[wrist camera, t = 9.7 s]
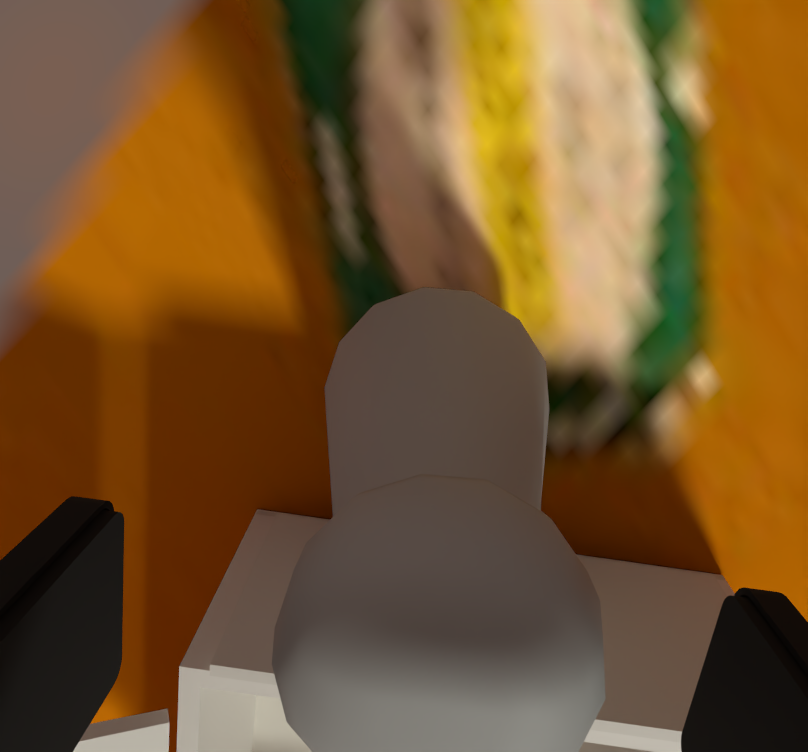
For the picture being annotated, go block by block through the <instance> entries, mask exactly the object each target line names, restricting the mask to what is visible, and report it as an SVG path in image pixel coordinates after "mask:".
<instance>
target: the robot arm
mask: <svg viewBox="0 0 808 752" xmlns="http://www.w3.org/2000/svg"><path fill="white" fill-rule="evenodd" d="M123 554H124V517H123V514H122V513H121V512H114V508H113V505H112V503H111V502H110V501H104V500H97V499H89V498H82V497H70V498H68V499H67V500H66V501H65V502H63V503H62V504H61V505H60V506H59V507H58V508H57V509H56V510H55V511H54V512H53V513H52V514H50V515H49V516H48V517H47V518H46V519H45V520H44V521H43V522H42V523H41V524H40V525H38V526H37V527H36V528H35V529H34V530H33V531H32V532H31V533H30V534H29V535H28V536H27V537H25V538H24V539H23V540H22V541H21V542H20V543H19V544H18V545H17V546H16V547H15V548H14V549H12V550H11V551H10V552H9V553H8V554H7V555H6V556H5V557H4V558H3V559H2V560H0V752H73V751H74V749H75V747H76V746H77V744H78V743H79V741H80V739H81V738H82V736H83V734H84V733H85V731H86V729H87V728H88V726H89V724H90V723H91V721H92V719H93V718H94V716H95V715H96V713H97V711H98V710H99V708H100V706H101V705H102V703H103V701H104V700H105V698H106V696H107V695H108V693H109V691H110V690H111V688H112V687H113V685H114V683H115V681H116V679H117V676H118V673H119V670H120V666H121V660H122V617H123ZM681 751H682V752H808V622H807V621H806V620H805V619H804V617H803V616H802V615H801V614H800V613H799V611H798V610H797V609H796V608H795V607H794V605H793V604H792V603H791V602H790V601H789V599H788V598H787V597H786V596H785V595H783V594H782V593H779V592H772V591H765V590H758V589H750V588H741V589H739V590H738V591H737V592H736V593H735V595H734V596H731V595H730V596H727V597H726V598H725V599H724V601H723V604H722V607H721V610H720V613H719V616H718V619H717V623H716V626H715V629H714V632H713V635H712V638H711V642H710V645H709V648H708V651H707V654H706V658H705V661H704V664H703V667H702V670H701V673H700V677H699V680H698V683H697V686H696V689H695V692H694V696H693V699H692V702H691V705H690V708H689V712H688V715H687V718H686V721H685V724H684V727H683V731H682V735H681Z"/></svg>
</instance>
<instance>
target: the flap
mask: <svg viewBox="0 0 808 752" xmlns="http://www.w3.org/2000/svg"><path fill="white" fill-rule="evenodd" d="M73 752H169V715H168V708H167V709H162V710H158V711H153V712H148V713H143V714H138V715H133V716H128V717H123V718H118V719H113V720H108V721H103V722H98V723H93V724H89V726H88V728H87V729H86V731H85V733H84V734H83V736H82V738H81V739H80V741H79V743H78V744H77V746H76V747H75V749H74V751H73Z"/></svg>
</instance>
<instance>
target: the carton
mask: <svg viewBox="0 0 808 752" xmlns="http://www.w3.org/2000/svg"><path fill="white" fill-rule="evenodd" d="M329 520H330V519H323V518H316V517H309V516H302V515H295V514H288V513H281V512H274V511H267V510H260V509H257V511H256V513H255V515H254V517H253V519H252V521H251V523H250V525H249V527H248V529H247V531H246V533H245V535H244V537H243V539H242V541H241V543H240V545H239V547H238V549H237V551H236V553H235V555H234V557H233V559H232V561H231V563H230V565H229V567H228V569H227V571H226V573H225V575H224V577H223V579H222V581H221V583H220V585H219V587H218V589H217V591H216V593H215V595H214V597H213V599H212V601H211V603H210V605H209V607H208V610H207V612H206V614H205V616H204V618H203V620H202V622H201V624H200V626H199V628H198V630H197V632H196V634H195V636H194V638H193V640H192V642H191V644H190V646H189V648H188V650H187V652H186V654H185V656H184V658H183V660H182V662H181V664H180V666H179V690H178V721H177V752H312V751H311V750H310V749H309V748H308V746H307V745H306V744H305V743H304V742H303V741H302V739H301V738H300V737H299V736H298V735H297V734H296V732H295V731H294V730H293V729H292V728H291V727H290V726H289V724H288V723H287V721H286V718H285V714H284V710H283V706H282V702H281V698H280V694H279V690H278V687H277V683H276V679H275V675H274V671H273V667H272V654H273V641H274V628H275V625H276V622H277V619H278V616H279V613H280V610H281V607H282V604H283V601H284V598H285V595H286V592H287V589H288V586H289V583H290V580H291V577H292V574H293V571H294V568H295V566H296V564H297V562H298V559H299V557H300V555H301V553H302V551H303V549H304V546H305V544H306V542H308V541H309V540H310V539H311V538H312V537H313V536H314V535H315V534H316V533H317V532H318V531H319V530H320V529H321V528H322V527H323V526H324V525H325V524H326V523H327V522H328V521H329ZM576 555H577V557H578V558H579V560H580V561H581V563H582V564H583V565H584V567H585V568H586V570H587V571H588V574H589V576H590V578H591V581H592V583H593V585H594V587H595V590H596V592H597V594H598V597H599V599H600V606H601V619H602V632H603V651H604V674H605V697H606V699H605V701H604V703H603V705H602V707H601V709H600V711H599V713H598V715H597V717H596V719H595V721H594V723H593V725H592V726H591V728H590V730H589V732H588V734H587V736H586V738H585V740H584V742H583V744H582V746H581V748H580V750H579V752H682V751H681V735H682V731H683V727H684V724H685V721H686V718H687V715H688V712H689V708H690V705H691V702H692V699H693V696H694V692H695V689H696V686H697V683H698V680H699V677H700V673H701V670H702V667H703V664H704V661H705V658H706V654H707V651H708V648H709V645H710V642H711V638H712V635H713V632H714V629H715V626H716V623H717V619H718V616H719V613H720V610H721V607H722V604H723V601H724V599H725V598H726V597H727V596H730V595H731V596H734V595H735V593H734V592H733V590H732V589H731V587H730V586H729V584H728V583H727V581H726V580H725V578H724V577H723V575H719V574H712V573H705V572H698V571H691V570H684V569H676V568H669V567H662V566H655V565H648V564H641V563H634V562H627V561H620V560H613V559H606V558H599V557H592V556H585V555H578V554H576Z"/></svg>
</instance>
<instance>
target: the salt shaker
mask: <svg viewBox="0 0 808 752" xmlns="http://www.w3.org/2000/svg"><path fill="white" fill-rule="evenodd" d="M324 389H325V404H326V419H327V435H328V450H329V466H330V481H331V496H332V512H333V517H332V518H331V519H330V520H329V521H328V522H327V523H326V524H325V525H324V526H323V527H322V528H321V529H320V530H319V531H318V532H317V533H316V534H315V535H314V536H313V537H312V538H311V539H310V540H309V541H308V542H306V544H305V546H304V549H303V551H302V553H301V555H300V557H299V559H298V562H297V564H296V566H295V568H294V571H293V574H292V577H291V580H290V583H289V586H288V589H287V592H286V595H285V598H284V601H283V604H282V607H281V610H280V613H279V616H278V619H277V622H276V625H275V628H274V641H273V654H272V667H273V671H274V675H275V679H276V683H277V687H278V690H279V694H280V698H281V702H282V706H283V710H284V714H285V718H286V721H287V723H288V724H289V726H290V727H291V728H292V729H293V730H294V731H295V732H296V734H297V735H298V736H299V737H300V738H301V739H302V741H303V742H304V743H305V744H306V745H307V746H308V748H309V749H310V750H311V751H312V752H579V750H580V748H581V746H582V744H583V742H584V740H585V738H586V736H587V734H588V732H589V730H590V728H591V726H592V725H593V723H594V721H595V719H596V717H597V715H598V713H599V711H600V709H601V707H602V705H603V703H604V701H605V699H606V697H605V674H604V651H603V632H602V619H601V606H600V599H599V597H598V594H597V592H596V590H595V587H594V585H593V583H592V581H591V578H590V576H589V574H588V571H587V570H586V568H585V567H584V565H583V564H582V563H581V561H580V560H579V558H578V557H577V555H576V554H575V552H574V551H573V549H572V548H571V547H570V545H569V544H568V542H567V541H566V539H565V538H564V536H563V535H562V534H561V532H560V531H559V529H558V528H557V526H556V525H555V523H554V522H553V521H552V519H551V518H550V517H548V516H547V515H546V514H545V513H543V512H542V511H541V497H542V486H543V475H544V463H545V452H546V441H547V430H548V419H549V398H548V385H547V371H546V361H545V360H544V358H543V357H542V355H541V353H540V352H539V350H538V349H537V347H536V346H535V344H534V342H533V341H532V339H531V338H530V336H529V334H528V333H527V331H526V330H525V328H524V327H523V325H522V323H521V322H520V320H519V319H517V318H516V317H514V316H513V315H511V314H510V313H508V312H506V311H505V310H503V309H501V308H500V307H498V306H496V305H495V304H493V303H491V302H490V301H488V300H487V299H485V298H483V297H482V296H480V295H478V294H477V293H475V292H473V291H464V290H452V289H441V288H429V287H423V288H420V289H417V290H414V291H411V292H408V293H405V294H403V295H400V296H397V297H394V298H391V299H388V300H386V301H383V302H380V303H377V304H375V305H373V306H372V307H371V308H370V309H369V310H368V312H367V313H366V314H365V315H364V316H363V317H362V318H361V319H360V320H359V321H358V322H357V323H356V324H355V326H354V327H353V328H352V329H351V330H350V331H349V332H348V333H347V334H346V335H345V336H344V337H343V339H342V340H341V341H340V342H339V344H338V348H337V351H336V354H335V357H334V360H333V363H332V366H331V369H330V372H329V375H328V378H327V381H326V384H325V387H324Z"/></svg>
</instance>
